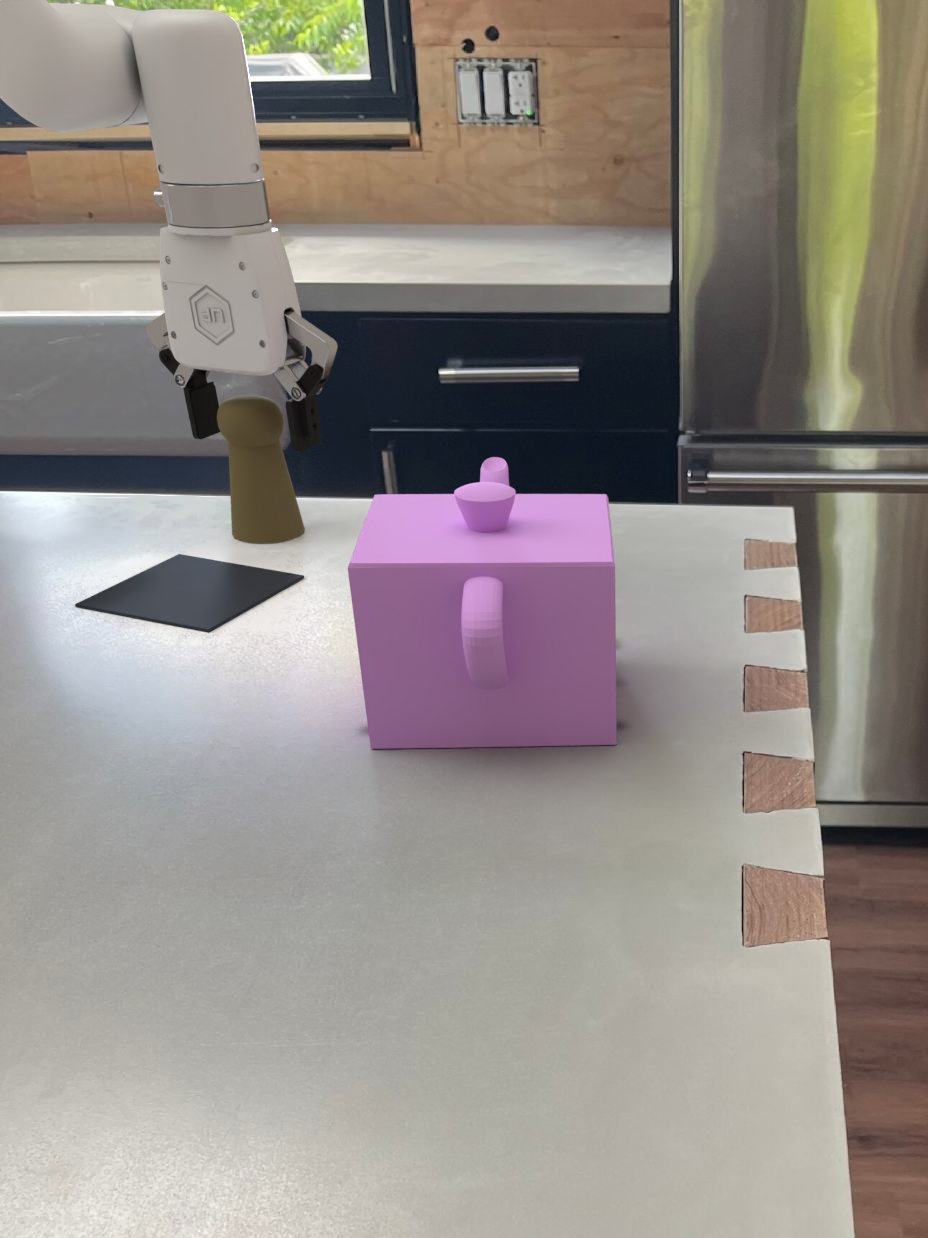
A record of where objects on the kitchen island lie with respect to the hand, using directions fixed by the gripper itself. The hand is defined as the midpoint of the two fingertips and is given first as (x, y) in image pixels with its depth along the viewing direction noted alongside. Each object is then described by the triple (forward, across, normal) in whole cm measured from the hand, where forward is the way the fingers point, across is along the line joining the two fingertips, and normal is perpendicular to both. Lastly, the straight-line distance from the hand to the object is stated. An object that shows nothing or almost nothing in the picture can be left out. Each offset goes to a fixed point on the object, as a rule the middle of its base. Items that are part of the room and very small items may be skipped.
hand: (257, 441), depth 109 cm
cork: (+8, 0, 0) cm, 8 cm away
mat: (+8, +3, -14) cm, 16 cm away
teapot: (+8, +33, -21) cm, 40 cm away
